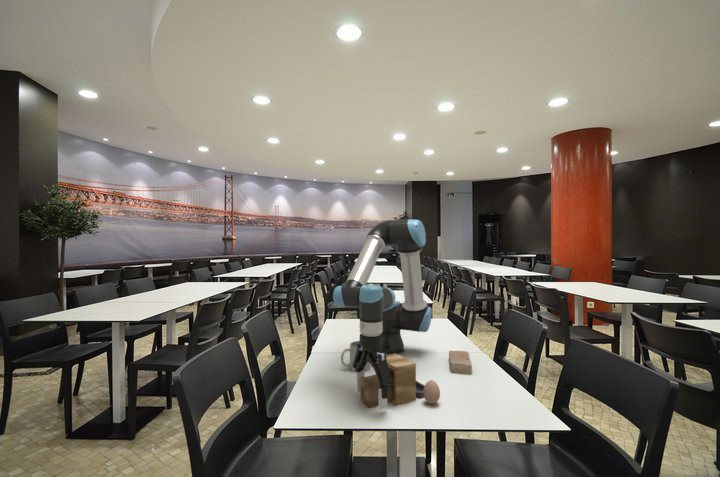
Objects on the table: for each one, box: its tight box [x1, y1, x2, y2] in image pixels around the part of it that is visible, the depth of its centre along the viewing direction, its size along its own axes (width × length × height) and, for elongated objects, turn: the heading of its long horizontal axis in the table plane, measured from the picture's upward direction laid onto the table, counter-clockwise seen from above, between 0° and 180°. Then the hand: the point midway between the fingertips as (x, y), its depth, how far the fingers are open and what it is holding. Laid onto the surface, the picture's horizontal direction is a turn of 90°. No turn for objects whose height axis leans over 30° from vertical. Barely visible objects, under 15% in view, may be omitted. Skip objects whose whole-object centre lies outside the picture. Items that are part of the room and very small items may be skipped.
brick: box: [448, 350, 473, 376], centre depth 141 cm, size 17×8×5 cm, turn 167°
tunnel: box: [377, 354, 417, 407], centre depth 113 cm, size 11×8×12 cm
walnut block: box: [359, 370, 394, 410], centre depth 111 cm, size 5×15×8 cm, turn 121°
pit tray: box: [416, 380, 425, 400], centre depth 118 cm, size 11×6×2 cm, turn 31°
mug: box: [340, 340, 371, 373], centre depth 139 cm, size 12×9×10 cm
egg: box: [423, 379, 441, 405], centre depth 108 cm, size 5×5×7 cm
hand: (371, 399), depth 108 cm, fingers open, 13 cm apart
